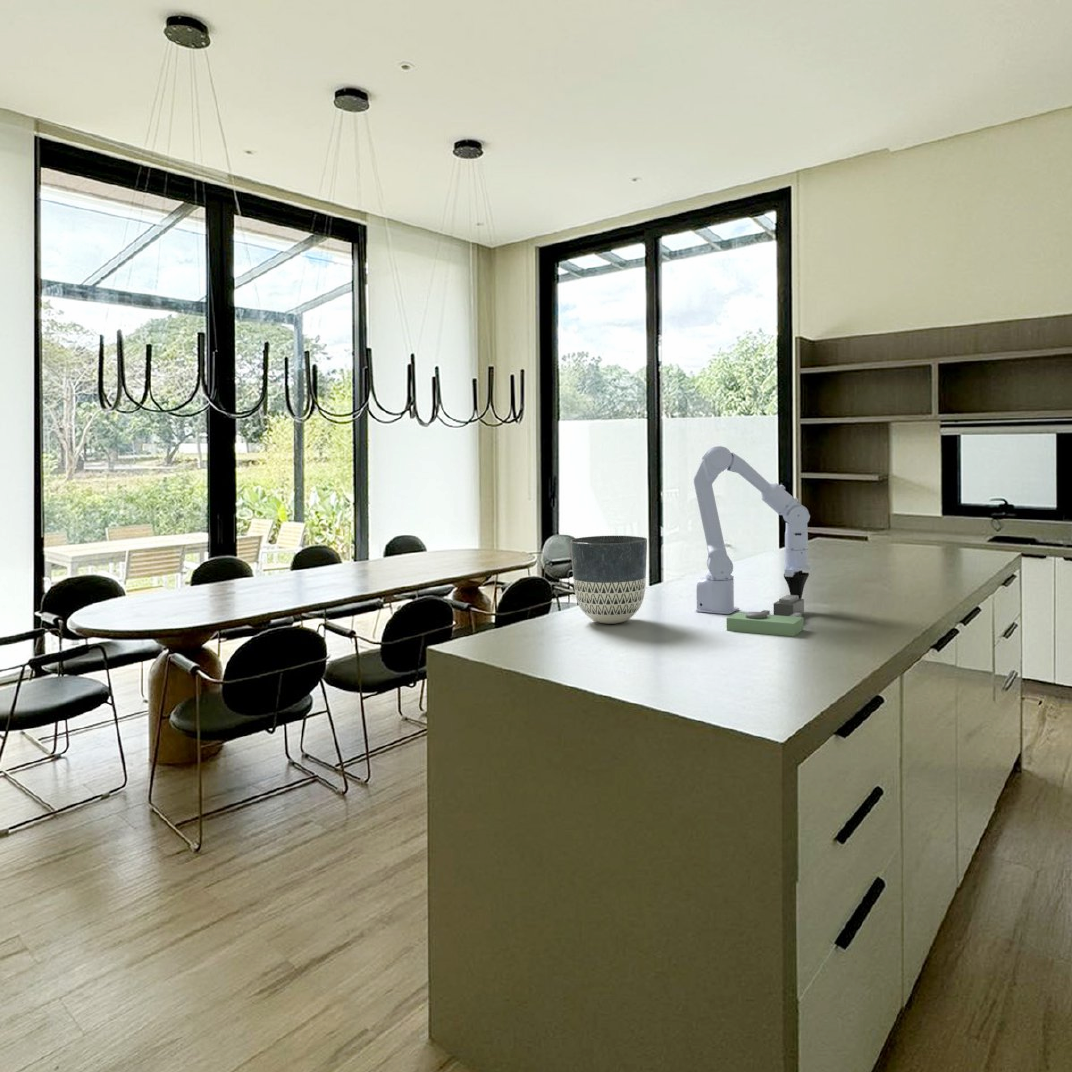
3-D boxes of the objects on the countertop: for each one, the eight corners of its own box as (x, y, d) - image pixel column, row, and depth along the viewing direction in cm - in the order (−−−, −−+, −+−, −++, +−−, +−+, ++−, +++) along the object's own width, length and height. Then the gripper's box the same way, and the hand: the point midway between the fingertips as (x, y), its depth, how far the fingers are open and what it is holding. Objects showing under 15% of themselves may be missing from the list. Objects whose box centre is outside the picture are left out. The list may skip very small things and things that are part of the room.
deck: (726, 630, 199) (726, 614, 199) (751, 616, 214) (751, 602, 214) (793, 636, 190) (793, 620, 190) (814, 622, 205) (814, 606, 205)
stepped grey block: (773, 618, 212) (773, 599, 211) (785, 612, 219) (785, 593, 219) (793, 620, 209) (793, 600, 209) (804, 614, 216) (804, 595, 216)
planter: (572, 615, 223) (569, 536, 221) (644, 613, 222) (643, 534, 220) (573, 631, 204) (570, 544, 201) (652, 629, 203) (650, 542, 201)
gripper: (804, 553, 210) (804, 605, 211) (819, 546, 222) (818, 596, 223) (776, 551, 214) (776, 603, 215) (792, 545, 226) (792, 594, 227)
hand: (796, 600), depth 220 cm, fingers closed
